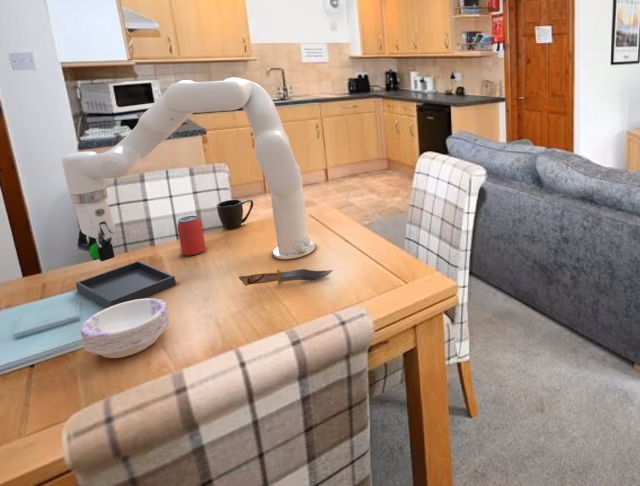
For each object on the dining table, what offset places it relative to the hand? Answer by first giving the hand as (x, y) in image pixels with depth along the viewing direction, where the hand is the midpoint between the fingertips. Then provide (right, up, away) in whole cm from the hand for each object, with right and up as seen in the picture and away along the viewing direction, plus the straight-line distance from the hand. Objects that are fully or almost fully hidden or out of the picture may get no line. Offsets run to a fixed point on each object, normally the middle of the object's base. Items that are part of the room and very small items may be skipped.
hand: (102, 256), depth 131 cm
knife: (+52, -9, +2) cm, 53 cm away
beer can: (+10, -4, +23) cm, 26 cm away
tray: (+6, -9, +1) cm, 11 cm away
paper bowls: (+29, -15, -25) cm, 40 cm away
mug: (+11, +1, +46) cm, 48 cm away
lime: (0, -1, 0) cm, 1 cm away
